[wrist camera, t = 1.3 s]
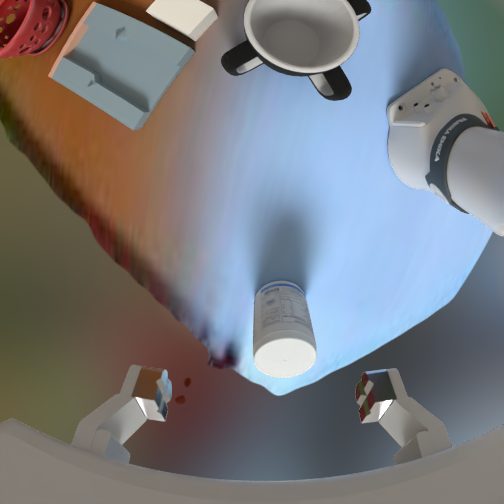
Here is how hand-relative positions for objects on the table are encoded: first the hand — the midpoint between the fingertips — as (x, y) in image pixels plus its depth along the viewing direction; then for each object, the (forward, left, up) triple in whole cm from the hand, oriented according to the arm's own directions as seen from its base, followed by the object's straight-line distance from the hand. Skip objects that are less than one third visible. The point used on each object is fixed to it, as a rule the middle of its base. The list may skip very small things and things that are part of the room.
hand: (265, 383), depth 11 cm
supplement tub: (+16, +17, -35) cm, 42 cm away
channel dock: (-2, -29, -35) cm, 45 cm away
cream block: (-13, -24, -35) cm, 45 cm away
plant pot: (-2, -49, -35) cm, 60 cm away
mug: (-18, -9, -35) cm, 41 cm away
